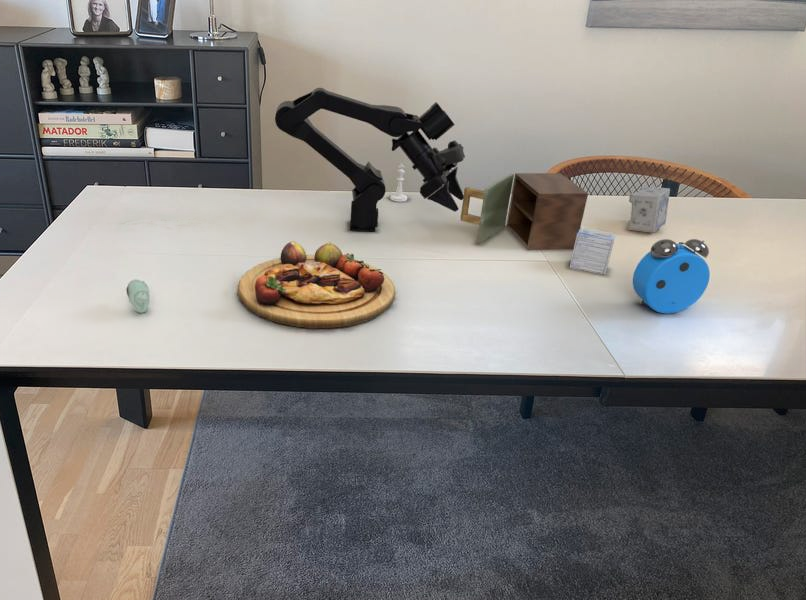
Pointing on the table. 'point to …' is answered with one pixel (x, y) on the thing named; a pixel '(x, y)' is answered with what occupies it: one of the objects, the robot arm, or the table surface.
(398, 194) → the chess piece
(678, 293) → the alarm clock
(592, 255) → the medicine box
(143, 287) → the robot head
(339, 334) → the table surface
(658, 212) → the incense holder
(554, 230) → the cupboard
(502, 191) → the door
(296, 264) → the wooden plate
